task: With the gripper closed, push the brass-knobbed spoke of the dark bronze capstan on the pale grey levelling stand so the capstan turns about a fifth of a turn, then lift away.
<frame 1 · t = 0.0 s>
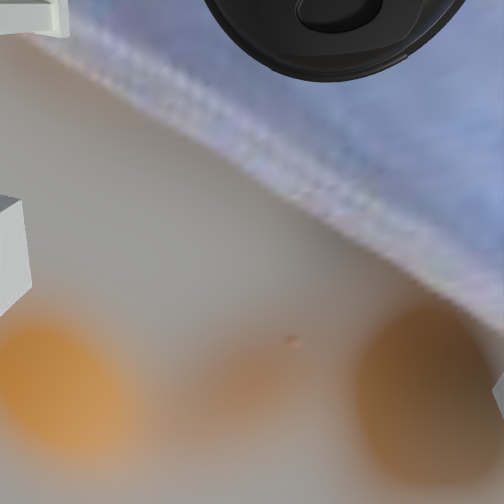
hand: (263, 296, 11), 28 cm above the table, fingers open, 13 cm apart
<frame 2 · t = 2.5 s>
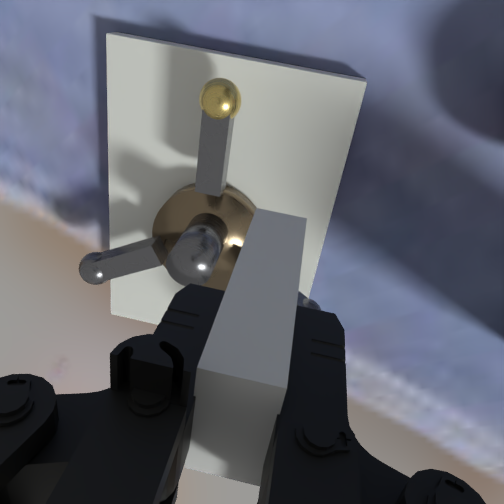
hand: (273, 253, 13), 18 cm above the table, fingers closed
capstan: (205, 211, 28), point 5 cm above the table, hinge at 0.0°
stand base: (219, 211, 33), on the table
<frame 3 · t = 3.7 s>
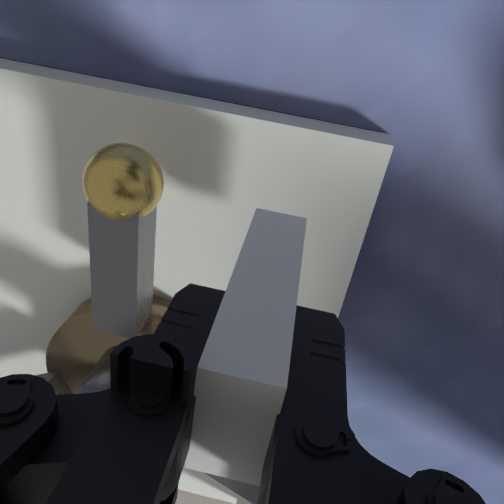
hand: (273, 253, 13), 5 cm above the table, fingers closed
capstan: (115, 357, 16), point 5 cm above the table, hinge at 0.0°
stand base: (158, 321, 22), on the table
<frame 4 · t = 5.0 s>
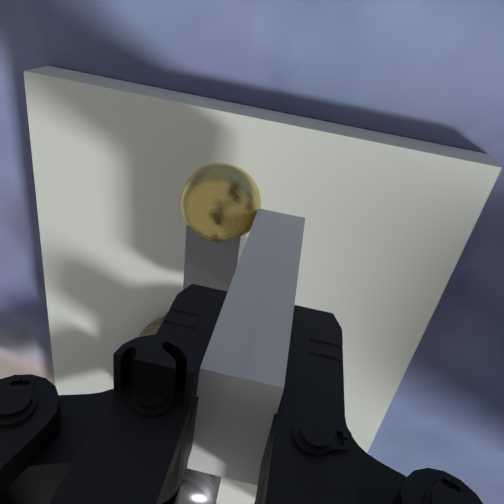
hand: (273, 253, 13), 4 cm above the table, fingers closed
capstan: (200, 381, 16), point 5 cm above the table, hinge at 2.1°, touching gripper
stand base: (223, 339, 21), on the table
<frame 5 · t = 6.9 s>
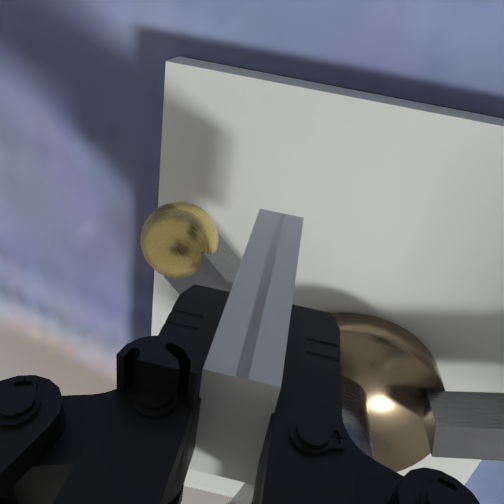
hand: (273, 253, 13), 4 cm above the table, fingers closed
capstan: (297, 395, 15), point 5 cm above the table, hinge at 45.4°, touching gripper
stand base: (330, 344, 20), on the table
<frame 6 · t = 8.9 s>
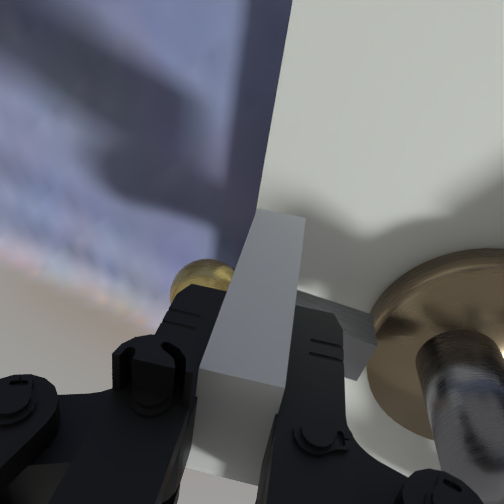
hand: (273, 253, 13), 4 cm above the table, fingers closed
capstan: (403, 374, 14), point 5 cm above the table, hinge at 82.5°, touching gripper
stand base: (437, 306, 18), on the table
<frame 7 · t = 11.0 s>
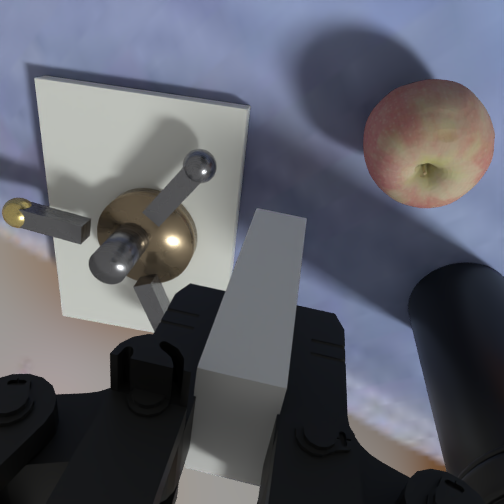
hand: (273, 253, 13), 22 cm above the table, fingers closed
water bottle: (458, 303, 38), on the table
apple: (412, 129, 32), on the table
capstan: (97, 239, 34), point 5 cm above the table, hinge at 83.2°
stand base: (146, 221, 38), on the table
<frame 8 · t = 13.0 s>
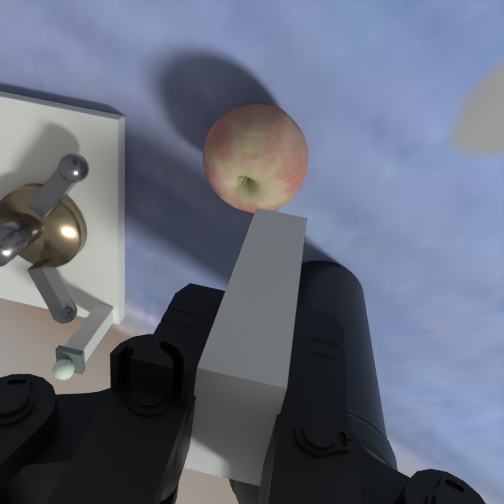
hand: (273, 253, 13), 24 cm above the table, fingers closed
water bottle: (319, 296, 43), on the table
apple: (263, 142, 37), on the table
stand base: (47, 212, 43), on the table
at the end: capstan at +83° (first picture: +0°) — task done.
